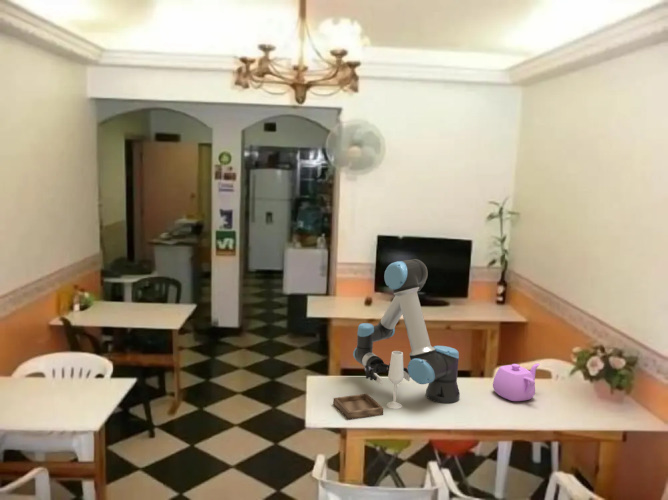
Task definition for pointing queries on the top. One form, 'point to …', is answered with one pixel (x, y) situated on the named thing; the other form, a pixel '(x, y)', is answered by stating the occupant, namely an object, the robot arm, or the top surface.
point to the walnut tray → (358, 406)
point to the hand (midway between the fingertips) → (395, 379)
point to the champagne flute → (395, 375)
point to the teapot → (515, 382)
